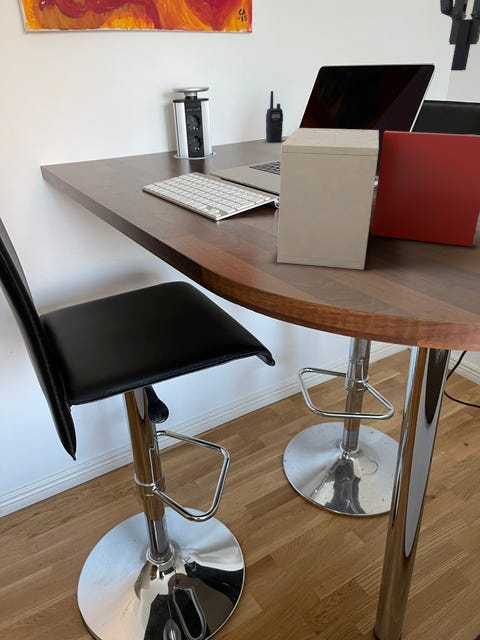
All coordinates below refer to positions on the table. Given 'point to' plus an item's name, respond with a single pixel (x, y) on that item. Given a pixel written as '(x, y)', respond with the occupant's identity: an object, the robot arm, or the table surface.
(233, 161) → the table surface
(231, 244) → the table surface
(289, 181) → the cupboard
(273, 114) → the two-way radio
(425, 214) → the cupboard door
